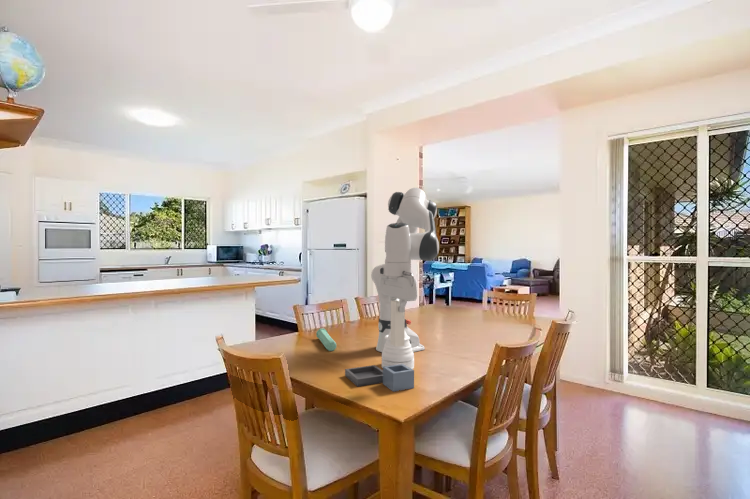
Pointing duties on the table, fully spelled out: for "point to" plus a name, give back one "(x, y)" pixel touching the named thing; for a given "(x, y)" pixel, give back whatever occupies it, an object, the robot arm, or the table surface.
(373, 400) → the table surface
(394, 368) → the socket
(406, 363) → the honey pot
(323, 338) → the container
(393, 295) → the robot arm
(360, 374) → the tray
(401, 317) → the peg
